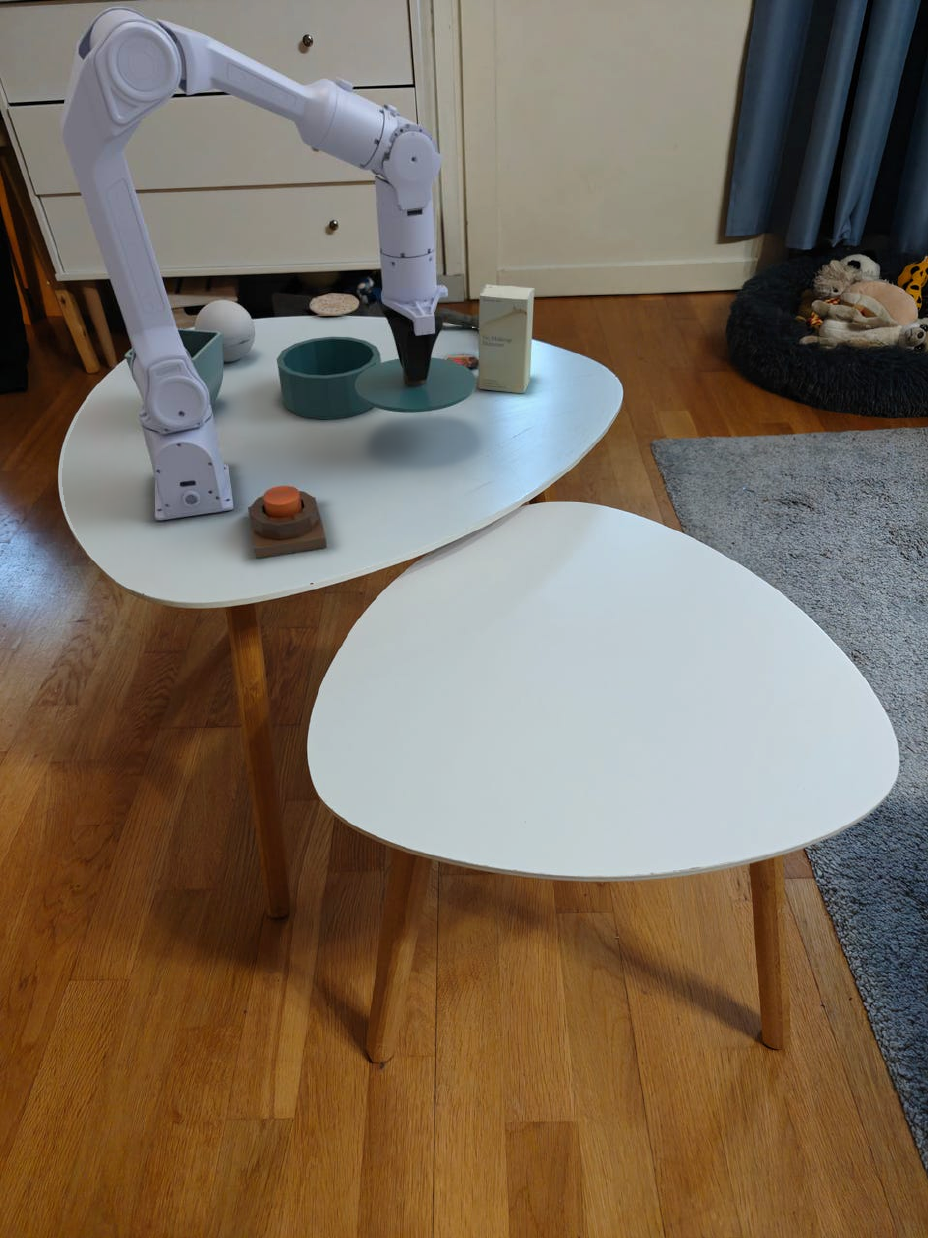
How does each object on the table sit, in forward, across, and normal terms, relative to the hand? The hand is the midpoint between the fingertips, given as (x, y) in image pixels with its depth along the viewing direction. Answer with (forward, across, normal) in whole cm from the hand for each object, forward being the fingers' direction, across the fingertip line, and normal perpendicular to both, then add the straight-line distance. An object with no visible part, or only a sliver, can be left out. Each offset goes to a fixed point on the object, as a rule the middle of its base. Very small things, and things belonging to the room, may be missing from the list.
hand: (414, 373), depth 106 cm
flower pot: (+8, +16, +26) cm, 32 cm away
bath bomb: (+8, +31, +20) cm, 38 cm away
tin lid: (+1, 0, 0) cm, 1 cm away
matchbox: (+8, +20, -10) cm, 24 cm away
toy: (+5, +31, -14) cm, 34 cm away
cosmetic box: (+9, +12, -14) cm, 20 cm away
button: (+6, -15, +17) cm, 24 cm away
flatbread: (+8, +46, +3) cm, 47 cm away
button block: (+8, -15, +17) cm, 24 cm away
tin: (+8, +15, +8) cm, 19 cm away
